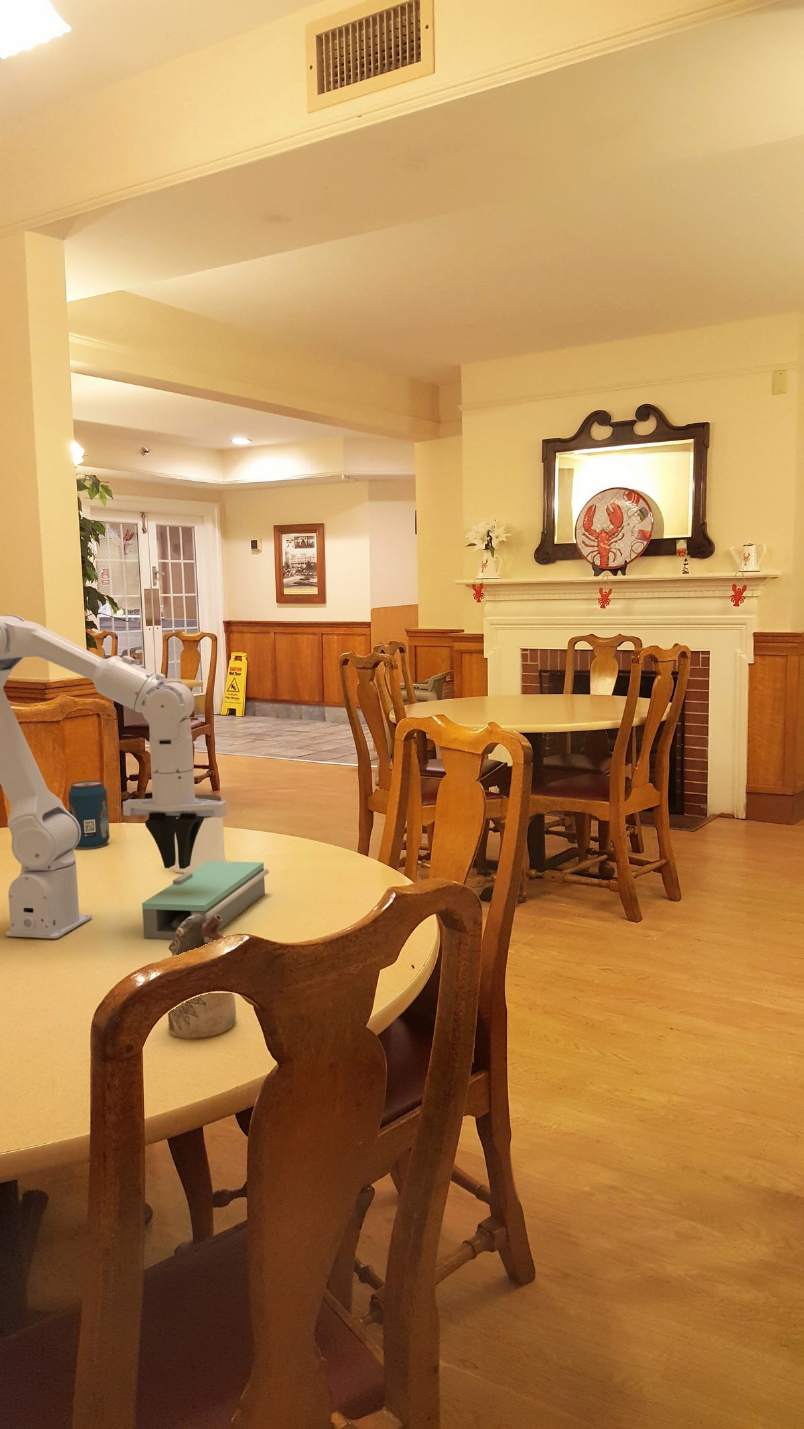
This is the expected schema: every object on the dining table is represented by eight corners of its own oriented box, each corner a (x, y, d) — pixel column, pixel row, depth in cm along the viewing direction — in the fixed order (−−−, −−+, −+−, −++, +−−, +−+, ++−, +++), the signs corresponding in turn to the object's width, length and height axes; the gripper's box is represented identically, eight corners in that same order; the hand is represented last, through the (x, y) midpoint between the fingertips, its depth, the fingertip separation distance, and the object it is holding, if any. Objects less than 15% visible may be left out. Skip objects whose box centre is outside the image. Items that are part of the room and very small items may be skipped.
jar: (180, 862, 174) (177, 794, 172) (227, 860, 174) (224, 793, 173) (170, 876, 165) (166, 804, 163) (220, 874, 165) (216, 803, 164)
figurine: (188, 1008, 110) (183, 902, 108) (247, 1014, 108) (242, 906, 106) (154, 1035, 103) (148, 923, 102) (217, 1042, 101) (211, 927, 100)
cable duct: (212, 941, 132) (210, 912, 131) (144, 938, 134) (142, 909, 133) (269, 893, 153) (268, 868, 153) (210, 891, 155) (209, 866, 155)
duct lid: (204, 911, 131) (204, 900, 131) (142, 908, 133) (141, 898, 133) (263, 867, 153) (263, 858, 153) (209, 866, 155) (208, 857, 155)
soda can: (71, 843, 190) (67, 781, 189) (109, 839, 192) (105, 778, 191) (71, 851, 184) (67, 787, 183) (110, 847, 186) (106, 784, 185)
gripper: (233, 765, 139) (237, 860, 140) (137, 764, 142) (143, 857, 144) (212, 774, 132) (217, 874, 134) (113, 773, 135) (118, 870, 137)
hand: (177, 866), depth 138 cm, fingers closed
